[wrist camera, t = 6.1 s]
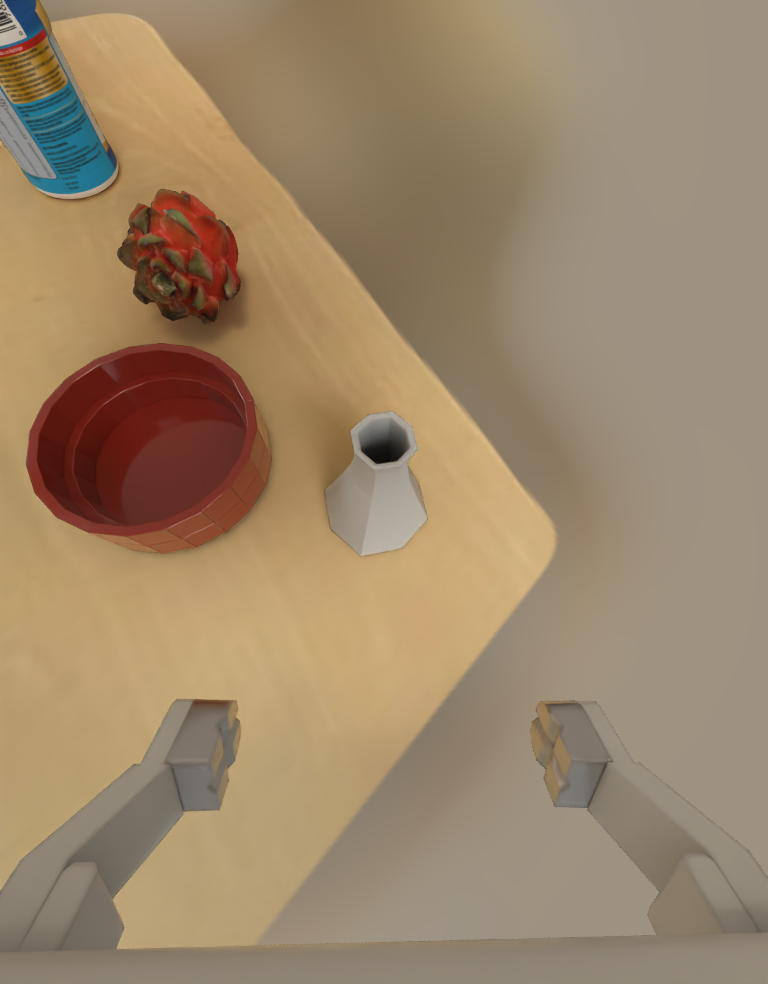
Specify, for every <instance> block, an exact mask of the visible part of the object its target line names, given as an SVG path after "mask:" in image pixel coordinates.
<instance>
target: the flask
mask: <svg viewBox="0 0 768 984" xmlns="http://www.w3.org/2000/svg"><path fill="white" fill-rule="evenodd" d="M350 433H351V438H352V443H353V448H354V453H355V456H354V458H353V461H352V463H351V465H350V466H349V467H348V468H347V469H346V470H345V471H344V472H343V473H342V474H341V475H340V476H339V477H338V478H337V479H336V480H335V481H334V482H333V483H332V484H331V485H330V486H329V487H328V488H327V489H326V490H325V497H326V503H327V509H328V515H329V522H330V528H331V529H332V530H333V531H334V532H335V533H336V534H337V535H338V536H339V537H340V538H341V539H343V540H344V541H345V542H346V543H347V544H348V545H349V546H350V547H351V548H352V549H354V550H355V551H356V552H357V553H358V554H359V555H360V556H364V555H370V554H375V553H380V552H385V551H391V550H396V549H401V548H403V547H404V545H405V544H406V543H407V542H408V541H409V540H410V539H411V538H412V536H413V535H414V534H415V533H416V532H417V531H418V530H419V529H420V527H421V526H422V525H423V524H424V523H425V522H426V521H427V520H428V518H427V514H426V510H425V506H424V502H423V498H422V494H421V490H420V486H419V482H418V481H417V479H416V478H415V476H414V475H413V474H412V472H411V471H410V469H409V467H408V465H407V464H408V460H409V459H410V458H411V457H412V456H413V455H414V454H415V453H416V452H417V451H418V447H417V443H416V439H415V435H414V432H413V428H412V426H411V425H410V424H409V423H408V422H406V421H405V420H404V419H402V418H401V417H400V416H399V415H397V414H396V413H395V412H394V411H389V412H382V413H375V414H368V415H367V416H366V417H365V418H364V419H363V420H362V421H360V422H359V423H358V424H357V425H356V426H355V427H354V428H353V429H352V430H351V432H350Z"/></svg>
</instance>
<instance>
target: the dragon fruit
mask: <svg viewBox="0 0 768 984" xmlns="http://www.w3.org/2000/svg"><path fill="white" fill-rule="evenodd" d="M129 225H130V227H131V228H130V229H129V230H128V236H127V238H126V239H125V240H124V241H123V243H122V246H121V247H120V248H119V249H118V251H117V256H118V257H119V260H120V261H121V262H122V263H123V264H124V265H126V266H127V267H129V268H130V269H133V270H135V271H137V272H136V275H135V282H134V283H135V286H134V288H133V294H134V295H135V296H136V297H137V298H138V299H139V300H140V301H141V302H143V303H144V304H148V303H150V302H155V303H156V304H157V306H158V308H159V309H160V311H161V313H162V315H163V316H164V317H166V318H167V319H170V320H171V321H175V320H179V319H182V318H187V317H188V316H190V315H196V316H199V317H200V318H201V319H202V322H203V323H204V324H207V323H211V322H215V320H216V319H217V317H218V315H219V311H220V301H221V300H223V299H226V301H227V300H230V299H233V298H234V297H235V295H238V291H239V290H240V287H241V281H240V278H239V277H238V274H237V272H236V264H237V262H238V249H237V244H236V240H235V237H234V234H233V233H232V231H231V230H230V228H229V227H228V226H226V224H225V223H224V222H223V221H221V220H217V219H216V217H215V214H214V212H212V211H211V210H210V209H209V208H208V207H207V206H205V205H204V204H203V203H202V202H201V201H200V200H199V199H197V198H196V197H195V196H193V195H191V194H189V193H187V192H185V191H182V192H181V194H180V193H178V192H176V191H171V190H166V189H160V190H159V191H158V192H157V194H156V196H155V199H154V201H153V202H152V203H151V208H150V207H147V206H146V205H143V204H139V203H138V204H137V205H136V207H135V209H134V210H133V212H132V213H131V214H130V217H129Z"/></svg>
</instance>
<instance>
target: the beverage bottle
mask: <svg viewBox="0 0 768 984" xmlns="http://www.w3.org/2000/svg"><path fill="white" fill-rule="evenodd" d="M0 139H1V141H2V142H3V144H4V145H5V146H6V148H7V149H8V150H9V152H10V153H11V155H12V156H13V158H14V159H15V160H16V162H17V163H18V165H19V166H20V167H21V169H22V171H23V172H24V174H25V175H26V177H27V178H28V179H29V181H30V182H31V183H32V185H33V186H34V187H35V188H37V189H38V190H39V191H41V192H42V193H44V194H46V195H49V196H51V197H55V198H60V199H80V198H85V197H89V196H92V195H95V194H97V193H100V192H101V191H103V190H105V189H106V188H108V187H109V186H110V185H111V184H112V183H113V182H114V180H115V179H116V177H117V174H118V162H117V159H116V157H115V155H114V153H113V151H112V149H111V147H110V145H109V143H108V142H107V140H106V138H105V136H104V135H103V133H102V131H101V129H100V127H99V125H98V123H97V121H96V119H95V117H94V115H93V113H92V111H91V109H90V107H89V105H88V103H87V101H86V99H85V97H84V95H83V93H82V91H81V89H80V87H79V85H78V83H77V81H76V79H75V77H74V75H73V73H72V71H71V69H70V67H69V65H68V63H67V61H66V59H65V57H64V55H63V53H62V51H61V49H60V47H59V45H58V43H57V41H56V39H55V37H54V34H53V32H52V28H51V24H50V21H49V18H48V16H47V14H46V12H45V10H44V8H43V6H42V5H41V3H40V1H39V0H0Z"/></svg>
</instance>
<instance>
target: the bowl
mask: <svg viewBox="0 0 768 984" xmlns="http://www.w3.org/2000/svg"><path fill="white" fill-rule="evenodd" d="M270 464H271V450H270V443H269V435H268V431H267V429H266V427H265V425H264V422H263V420H262V418H261V415H260V413H259V411H258V408H257V406H256V404H255V402H254V399H253V397H252V396H251V394H250V392H249V390H248V388H247V387H246V385H245V383H244V381H243V379H242V377H241V376H240V375H239V374H238V373H236V372H235V371H234V370H233V369H232V368H231V367H229V366H228V365H227V364H226V363H225V362H224V361H222V360H221V359H220V358H218V357H216V356H213V355H211V354H209V353H206V352H204V351H201V350H199V349H196V348H194V347H189V346H181V345H173V344H164V343H157V344H149V345H141V346H133V347H128V348H124V349H122V350H119V351H116V352H114V353H111V354H108V355H105V356H103V357H100V358H97V359H95V360H93V361H92V362H90V363H89V364H87V365H86V366H84V367H83V368H81V369H80V370H78V371H77V372H75V373H74V374H72V375H71V376H69V377H68V378H66V379H65V380H64V381H63V382H62V384H61V385H60V386H59V387H58V388H57V389H56V390H55V391H54V392H53V393H52V394H51V396H50V397H49V398H48V399H47V400H46V401H45V402H44V404H43V405H42V407H41V409H40V411H39V413H38V415H37V417H36V419H35V421H34V423H33V426H32V428H31V430H30V433H29V438H28V447H27V457H26V467H27V470H28V473H29V476H30V480H31V483H32V486H33V489H34V492H35V494H36V495H37V496H38V497H39V499H40V500H41V501H42V502H43V503H44V504H45V505H46V506H47V508H48V509H49V510H50V511H51V512H52V513H53V514H54V515H55V516H56V517H57V518H58V519H60V520H63V521H65V522H67V523H69V524H71V525H73V526H75V527H77V528H79V529H81V530H84V531H86V532H88V533H90V534H93V535H95V536H98V537H100V538H103V539H105V540H108V541H110V542H113V543H115V544H117V545H120V546H122V547H125V548H127V549H130V550H136V551H145V552H154V553H168V552H173V551H179V550H184V549H189V548H194V547H197V546H199V545H201V544H203V543H205V542H207V541H209V540H211V539H213V538H215V537H217V536H219V535H221V534H223V533H225V532H227V531H228V530H229V529H230V528H231V527H233V526H234V525H235V524H236V523H237V522H238V521H239V520H240V519H241V518H242V517H244V516H245V515H246V514H247V513H248V512H249V511H250V510H251V508H252V507H253V505H254V503H255V502H256V500H257V498H258V497H259V495H260V493H261V492H262V490H263V488H264V487H265V485H266V481H267V477H268V472H269V468H270Z"/></svg>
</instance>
